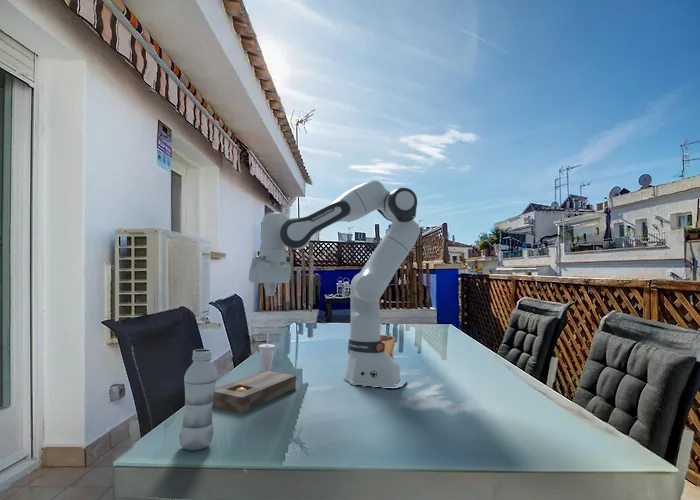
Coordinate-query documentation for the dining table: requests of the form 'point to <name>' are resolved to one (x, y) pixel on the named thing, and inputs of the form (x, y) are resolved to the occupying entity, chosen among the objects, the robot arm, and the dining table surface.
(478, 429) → the dining table surface
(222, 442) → the dining table surface
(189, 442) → the plastic bottle
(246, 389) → the ball
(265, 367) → the smoothie
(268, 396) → the brown wooden holder
